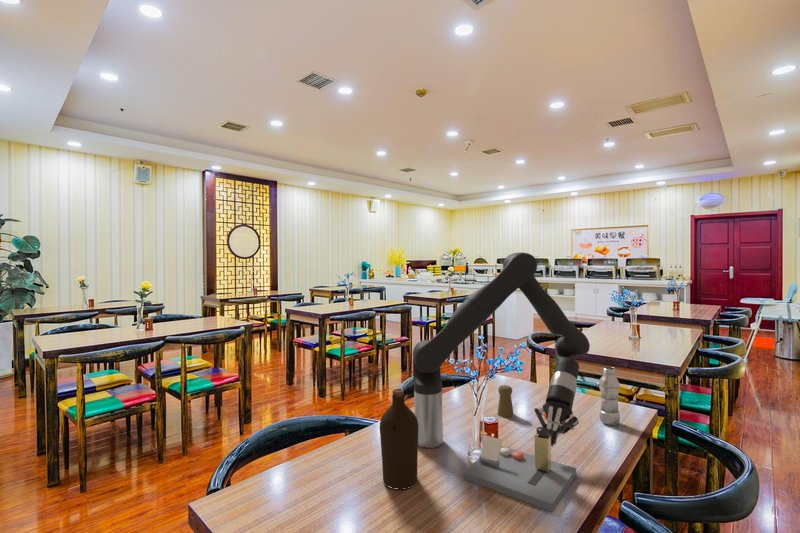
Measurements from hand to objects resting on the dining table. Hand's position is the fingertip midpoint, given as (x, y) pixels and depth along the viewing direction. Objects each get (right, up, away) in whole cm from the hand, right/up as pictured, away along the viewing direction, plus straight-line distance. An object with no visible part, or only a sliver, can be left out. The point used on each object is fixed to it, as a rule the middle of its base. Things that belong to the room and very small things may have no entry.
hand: (549, 444), depth 115 cm
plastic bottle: (+32, -6, +29) cm, 44 cm away
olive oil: (-43, -8, -4) cm, 44 cm away
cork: (-2, -6, +40) cm, 40 cm away
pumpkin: (+13, -6, +32) cm, 35 cm away
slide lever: (-3, -5, -4) cm, 7 cm away
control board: (-10, -7, -4) cm, 13 cm away
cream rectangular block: (-18, -5, -1) cm, 19 cm away
